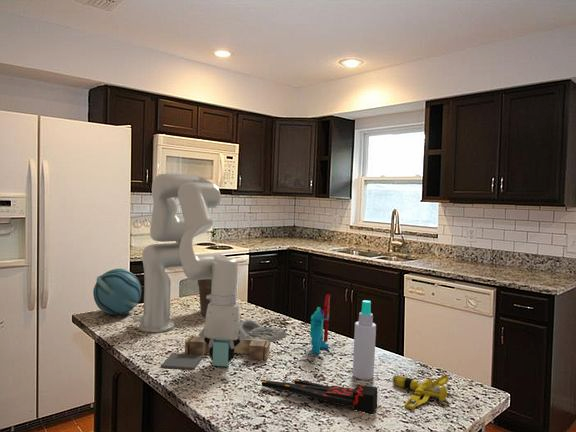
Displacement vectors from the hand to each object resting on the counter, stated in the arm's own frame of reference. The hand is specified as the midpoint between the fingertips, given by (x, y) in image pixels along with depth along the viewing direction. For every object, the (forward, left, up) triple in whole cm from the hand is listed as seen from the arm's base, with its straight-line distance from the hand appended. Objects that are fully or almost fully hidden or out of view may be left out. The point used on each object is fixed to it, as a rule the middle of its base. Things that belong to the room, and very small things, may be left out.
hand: (221, 359), depth 134 cm
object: (-16, +56, -2) cm, 58 cm away
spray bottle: (+42, -1, -2) cm, 42 cm away
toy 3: (+29, -16, -2) cm, 33 cm away
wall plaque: (+3, +31, -3) cm, 31 cm away
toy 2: (+29, +18, -2) cm, 34 cm away
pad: (-12, 0, -2) cm, 12 cm away
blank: (0, 0, -1) cm, 1 cm away
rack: (0, +8, -2) cm, 8 cm away
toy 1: (-54, +45, -2) cm, 70 cm away
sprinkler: (+55, -10, -2) cm, 56 cm away
